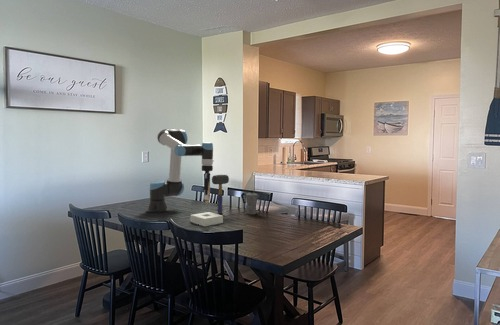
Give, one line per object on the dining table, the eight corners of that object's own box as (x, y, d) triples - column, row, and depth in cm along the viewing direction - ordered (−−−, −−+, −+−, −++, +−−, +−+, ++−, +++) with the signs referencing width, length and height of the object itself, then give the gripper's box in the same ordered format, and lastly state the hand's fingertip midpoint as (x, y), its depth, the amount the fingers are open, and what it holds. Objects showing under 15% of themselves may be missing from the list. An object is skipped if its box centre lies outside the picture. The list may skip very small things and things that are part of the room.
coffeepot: (261, 213, 291) (261, 190, 290) (256, 215, 283) (256, 192, 281) (243, 211, 298) (243, 188, 296) (238, 213, 289) (238, 190, 288)
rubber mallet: (215, 214, 282) (216, 175, 280) (210, 213, 288) (211, 174, 285) (229, 212, 290) (229, 174, 287) (223, 211, 295) (224, 173, 293)
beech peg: (202, 202, 255) (202, 182, 254) (207, 201, 258) (207, 181, 257) (206, 203, 252) (206, 182, 251) (211, 202, 255) (211, 182, 254)
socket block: (190, 221, 257) (190, 214, 256) (208, 218, 268) (209, 211, 267) (204, 226, 245) (204, 218, 245) (222, 222, 256) (223, 215, 256)
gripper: (211, 166, 245) (210, 201, 246) (214, 164, 262) (213, 196, 264) (199, 165, 245) (199, 200, 246) (203, 164, 262) (203, 196, 264)
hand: (206, 198), depth 255 cm, fingers closed on beech peg, 4 cm apart
